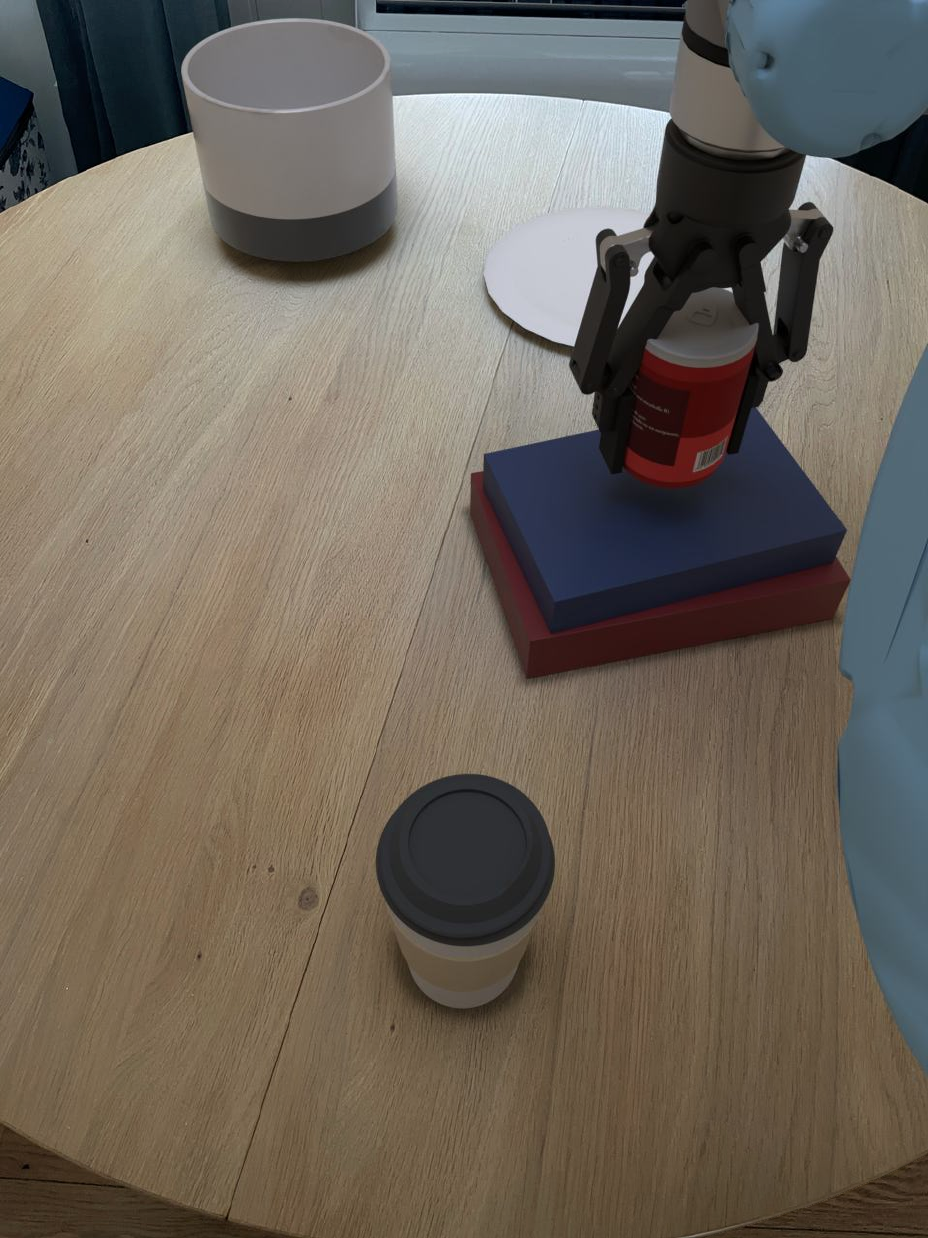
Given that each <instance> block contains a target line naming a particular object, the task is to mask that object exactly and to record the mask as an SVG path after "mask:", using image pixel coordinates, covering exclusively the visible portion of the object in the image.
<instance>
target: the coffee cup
mask: <svg viewBox="0 0 928 1238" xmlns="http://www.w3.org/2000/svg"><path fill="white" fill-rule="evenodd" d="M555 872H556V855H555V849H554V844H553V841H552V837H551V835H550V831H549V829H548V825H547V822H546V820H545V819H544V817H543V815H542V813H541V812H540V810H539V808H538V806H536V804H535V803H534V801H532V800H531V799H530V798H529V797H528V795H526V794H525V793H524V792H523V791H521V790H520V789H519V788H517V787H515V785H512V784H511V783H509V782H506V781H505V780H502V779H500V778H497V777H493V776H490V775H485V774H479V773H460V774H459V773H458V774H452V775H447V776H444V777H441V778H438V779H435V780H432V781H430V782H428V783H426V784H425V785H423V786H421V787H420V788H418V789H416V790H415V791H413V792H412V793H411V794H410V795H409V796H407V797H406V798H405V799H404V800H403V801H402V802H401V803H400V805H398V807H397V808H396V809H395V810H394V812H393V813H392V814H391V816H390V817H389V818H388V820H387V822H386V823H385V825H384V827H383V829H382V831H381V833H380V837H379V839H378V843H377V846H376V853H375V873H376V879H377V883H378V887H379V890H380V892H381V894H382V897H383V899H384V903H385V906H386V911H387V912H388V916H389V919H390V921H391V925H392V928H393V931H394V934H395V937H396V941H397V943H398V945H399V949H400V951H401V954H402V956H403V957H404V959H405V961H406V963H407V965H408V968H409V969H408V970H409V972H410V975H411V977H412V979H413V981H414V982H415V984H416V985H417V987H418V989H420V991H421V992H422V993H424V995H425V996H426V997H428V998H429V999H431V1000H432V1001H434V1002H435V1003H437V1004H439V1005H441V1006H445V1007H448V1008H453V1009H460V1010H461V1009H472V1008H478V1007H480V1006H483V1005H486V1004H488V1003H490V1002H492V1001H493V1000H495V999H497V998H498V996H500V995H502V993H504V992H505V990H506V989H507V988H508V987H509V986H510V984H511V983H512V981H513V979H514V977H515V975H516V973H517V970H518V967H519V964H520V962H521V960H522V958H523V957H524V955H525V953H526V951H527V949H528V946H529V944H530V941H531V938H532V936H533V933H534V931H535V928H536V926H537V924H538V921H539V919H540V916H541V915H542V911H543V909H544V905H545V903H546V901H547V899H548V897H549V895H550V893H551V890H552V887H553V883H554V878H555Z"/></svg>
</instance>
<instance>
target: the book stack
mask: <svg viewBox="0 0 928 1238" xmlns="http://www.w3.org/2000/svg"><path fill="white" fill-rule="evenodd" d="M600 437H601V433H600V431H599V429H598V428H597V429H594V430H589V431H585V432H581V433H575V434H571V435H566V436H561V437H556V438H551V439H547V440H543V441H537V442H533V443H529V444H524V445H519V446H515V447H514V446H513V447H509V448H506V449H501V450H496V451H491V452H485V453H483V464H482V465H483V467H482V468H483V469H482V470H481V471H476V472H471V473H470V494H469V495H470V496H469V497H470V499H469V502H470V503H469V514H470V516H471V519H472V523H473V525H474V528H475V531H476V534H477V537H478V540H479V542H480V547H481V550H482V552H483V555H484V558H485V560H486V563H487V567H488V570H489V573H490V575H491V579H492V581H493V585H494V588H495V590H496V593H497V596H498V599H499V602H500V605H501V608H502V610H503V611H502V612H503V613H504V616H505V619H506V623H507V625H508V628H509V631H510V635H511V637H512V640H513V643H514V646H515V649H516V652H517V654H518V657H519V661H520V663H521V667H522V670H523V672H524V675H525V678H526V680H528V679H533V678H537V677H543V676H548V675H552V674H559V673H563V672H568V671H574V670H579V669H582V668H589V667H594V666H599V665H604V664H609V663H614V662H618V661H619V662H620V661H624V660H629V659H634V658H640V657H644V656H651V655H655V654H660V653H665V652H670V651H674V650H681V649H685V648H691V647H695V646H700V645H705V644H710V643H715V642H721V641H726V640H731V639H736V638H741V637H745V636H747V637H748V636H751V635H757V634H762V633H767V632H772V631H777V630H782V629H786V628H792V627H798V626H802V625H808V624H812V623H818V622H822V621H828V620H833V619H834V617H835V616H836V613H837V611H838V610H839V607H840V605H841V602H842V600H843V598H844V596H845V593H846V592H847V589H848V588H849V586H850V581H851V577H850V576H849V575H848V573H847V571H846V570H845V568H844V566H843V565H842V563H841V562H840V560H839V558H838V557H837V555H838V553H839V550H840V549H841V546H842V544H843V541H844V539H845V537H846V534H847V532H848V528H846V526H845V525H844V523H843V522H842V520H841V519H840V518H839V517H838V515H837V514H836V513H835V511H834V510H833V509H832V507H831V505H830V504H829V503H828V502H827V501H826V499H825V498H824V497H823V495H822V494H821V493H820V491H819V490H818V489H817V487H816V486H815V485H814V483H813V482H812V480H811V478H809V476H808V475H807V473H805V471H804V469H803V468H802V467H801V466H800V464H799V463H798V462H797V460H796V459H795V458H794V456H793V455H792V453H790V451H789V450H788V448H787V447H786V445H785V444H784V443H783V441H782V440H781V439H780V438H779V436H778V435H777V434H776V433H775V430H773V428H772V426H771V425H770V424H769V423H768V422H767V420H766V419H765V417H764V416H763V414H761V412H760V410H759V409H758V407H756V408H751V411H750V415H749V418H748V421H747V425H746V428H745V432H744V435H743V439H742V442H741V446H740V449H739V453H736V454H730V455H728V453H727V452H726V453H725V456H724V458H723V461H722V462H721V463H720V465H719V466H718V467H717V469H716V470H715V471H714V473H713V474H712V475H711V476H710V477H708V478H707V479H706V480H704V481H702V482H700V483H699V484H696V485H693V486H690V487H684V488H663V487H657V486H653V485H650V484H647V483H645V482H642V481H640V480H638V479H637V478H635V477H634V476H632V475H631V474H630V473H629V472H628V471H627V470H626V469H625V468H624V467H623V468H622V473H617V474H611V473H610V471H609V469H608V466H607V464H606V462H605V460H604V458H603V456H602V454H601V452H600V450H599V444H600Z"/></svg>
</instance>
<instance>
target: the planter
mask: <svg viewBox="0 0 928 1238" xmlns="http://www.w3.org/2000/svg"><path fill="white" fill-rule="evenodd" d="M392 71H393V70H392V59H391V55H390V52H389V50H388V49H387V47H386V46H385V45H384V44H383V43H382V42H381V41H380V40H379V39H378V38H376V37H375V36H374V35H372V34H370V33H369V32H366V31H365V30H362V29H361V28H358V27H355V26H352V25H349V24H345V23H341V22H337V21H331V20H326V19H320V18H319V19H318V18H317V19H316V18H306V17H305V18H301V17H289V18H288V17H287V18H271V19H263V20H257V21H252V22H246V23H243V24H239V25H238V24H237V25H235V26H231V27H228V28H226V29H223V30H220V31H218V32H216V33H213V34H211V35H210V36H207V37H206V38H204V39H203V40H201V41H199V42H198V43H197V44H195V45H194V46H193V47H192V48H191V49H190V50H189V51H188V52H187V54H186V55H185V57H184V59H183V60H182V63H181V70H180V73H181V77H182V78H181V80H182V84H183V89H184V94H185V100H186V104H187V110H188V113H189V119H190V125H191V129H192V135H193V139H194V144H195V149H196V154H197V159H198V165H199V169H200V175H201V179H202V186H203V191H204V195H205V201H206V206H207V209H208V210H207V211H208V217H209V220H210V224H211V226H212V228H213V230H214V232H215V233H216V234H217V235H218V237H219V238H220V239H221V240H222V241H223V242H224V243H226V244H227V245H229V246H230V247H232V248H234V249H236V250H238V251H240V252H242V253H244V254H246V255H247V254H248V255H250V256H254V257H257V258H261V259H265V260H270V261H280V262H293V263H294V262H313V261H315V262H316V261H321V260H322V261H323V260H327V259H332V258H337V257H342V256H344V255H347V254H351V253H354V252H356V251H359V250H360V249H363V248H365V247H367V246H369V245H370V244H372V243H374V242H376V241H377V240H378V239H379V238H381V237H383V235H384V234H385V233H386V232H387V231H389V229H390V228H391V226H392V225H393V223H394V222H395V219H396V217H397V214H398V185H397V184H398V183H397V164H396V162H397V161H396V141H395V139H396V137H395V117H394V95H393V94H394V93H393V92H394V91H393V73H392Z"/></svg>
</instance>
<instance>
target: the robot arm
mask: <svg viewBox="0 0 928 1238" xmlns="http://www.w3.org/2000/svg"><path fill="white" fill-rule="evenodd" d="M682 22H683V23H682V28H681V32H680V37H679V44H678V50H677V56H676V60H675V61H676V62H675V68H674V74H673V81H672V87H671V92H670V99H669V105H668V111H669V116H670V117H671V118H670V119H669V120H668V121H667V123H666V125H665V129H664V133H663V134H664V135H663V141H662V147H661V152H660V158H659V159H660V160H659V166H658V172H657V178H656V187H655V189H656V190H655V202H654V206H653V208H652V210H651V212H650V213H651V214H650V215H649V217H648V218H647V220H646V221H645V223H644V226H643V228H642V229H639V230H636V231H632V232H629V233H626V234H622V235H619V236H617V235H616V233H615V232H614V231H613V230H612V229H604V230H602V231H600V232H599V233H598V235H597V237H596V253H597V270H596V273H595V276H594V280H593V283H592V287H591V290H590V294H589V297H588V300H587V304H586V307H585V311H584V314H583V318H582V321H581V324H580V328H579V331H578V335H577V338H576V341H575V345H574V348H572V352H571V355H570V358H569V362H568V368H569V370H570V371H571V374H572V376H573V378H574V381H575V382H576V385H577V387H578V388H579V390H580V393H581V394H583V395H586V396H588V395H592V394H594V395H593V403H592V410H591V415H592V418H593V421H594V423H595V425H596V426H597V430H598V429H599V431H600V433H601V437H600V444H599V450H600V452H601V454H602V456H603V458H604V460H605V462H606V464H607V466H608V469H609V471H610V473H611V474H617V473H622V468H623V463H624V457H625V451H626V445H627V440H628V434H629V428H630V422H631V417H632V411H633V405H634V399H635V397H634V395H633V394H632V392H631V390H630V388H629V386H628V385H629V383H630V382H631V380H632V378H633V377H634V375H635V374H636V372H637V370H638V369H639V367H640V366H641V364H642V361H643V356H644V351H645V347H646V345H647V340H649V339H656V340H657V338H658V337H659V335H660V334H661V332H662V330H663V329H664V327H665V326H666V324H667V322H668V321H669V319H670V318H671V316H672V314H673V313H674V312H675V311H680V310H681V309H682V308H683V307H684V305H685V303H686V302H687V300H688V299H689V297H690V295H691V294H692V293H696V292H701V291H703V290H706V289H709V288H712V287H715V288H731V287H732V292H733V296H734V300H735V304H736V305H737V307H738V308H739V310H740V311H741V313H742V314H743V316H744V317H745V319H746V320H747V321H748V323H749V324H750V325H752V324H755V323H758V324H759V327H758V334H757V341H756V345H755V348H754V353H753V357H752V361H751V364H750V368H749V371H748V375H747V378H746V382H745V385H744V389H743V392H742V396H741V400H740V403H739V407H738V410H737V414H736V417H735V421H734V424H733V428H732V432H731V435H730V439H729V442H728V446H727V449H726V452H727V453H728V455H730V454H736V453H739V449H740V446H741V442H742V439H743V435H744V432H745V428H746V425H747V421H748V418H749V415H750V411H751V408H759V407H760V406H761V405H762V403H763V402H764V399H765V394H766V392H767V389H768V384H769V383H773V382H776V381H777V380H779V379H780V378H781V377H782V375H783V374H784V369H783V367H782V366H781V363H784V362H786V361H790V363H798V362H799V361H801V360H802V359H804V358H805V356H806V355H807V351H808V346H809V345H808V344H809V339H810V331H811V324H812V319H813V311H814V303H815V296H816V289H817V281H818V275H819V268H820V261H821V258H822V257H823V255H824V253H825V250H826V248H827V246H828V244H829V242H830V241H831V238H832V236H833V233H834V226H833V225H832V224H831V223H830V221H829V220H828V219H827V218H826V216H825V214H824V213H822V211H821V210H820V209H819V208H818V207H817V206H816V204H815V203H814V202H811V201H807V202H804V203H802V204H801V205H800V206H798V208H797V209H790V208H791V207H792V205H793V203H794V201H795V198H796V195H797V191H798V187H799V183H800V181H801V176H802V173H803V170H804V166H805V162H806V159H807V156H808V157H813V158H822V159H823V158H824V159H838V158H844V157H850V156H853V155H854V154H857V153H859V152H860V151H864V150H866V149H870V148H873V147H874V146H876V145H878V144H880V143H883V142H887V141H889V140H892V139H894V138H895V137H896V136H898V135H899V134H901V133H902V132H904V131H905V130H907V129H908V128H909V127H910V126H911V125H912V124H913V123H915V122H916V121H917V120H919V118H920V117H921V116H922V115H925V116H926V115H927V116H928V0H686V7H685V13H684V17H683V21H682ZM781 241H783V244H782V249H781V259H780V267H779V268H780V269H779V276H778V277H779V278H778V286H777V295H776V305H775V314H774V324H773V329H772V323H771V319H770V314H769V311H768V305H767V304H768V303H767V300H766V294H765V293H766V292H767V287H766V282H765V277H764V271H763V266H762V261H763V260H764V259H765V258H766V257H767V256H768V255H769V254H770V253H771V252H772V251H773V250H774V248H775V247H776V246H777V245H778V244H779V243H780V242H781ZM648 252H652V254H653V255H654V258H653V260H652V261H651V263H650V265H649V266H648V268H647V270H646V272H645V275H644V284H643V286H642V288H641V290H640V291H639V293H638V295H637V296H636V298H635V300H634V302H633V303H632V305H631V307H630V308H629V310H628V312H627V313H626V315H625V317H624V319H623V320H622V322H621V324H620V325H619V322H620V319H621V316H622V313H623V310H624V307H625V304H626V301H627V298H628V294H629V290H630V280H631V277H634V276H636V275H637V274H638V272H639V271H638V267H639V263H640V260H641V258H642V257H643V256H644V255H645V254H646V253H648ZM618 325H619V327H618ZM875 475H876V476H875V478H874V481H873V485H872V489H871V492H870V495H869V499H868V503H867V506H866V509H865V510H866V511H865V514H864V519H863V522H862V526H861V530H860V534H859V539H858V545H857V547H856V553H855V558H854V563H853V569H852V573H851V577H850V579H851V581H850V583H849V585H848V591H847V596H846V603H845V610H844V613H843V622H842V629H841V637H840V648H839V656H838V657H839V658H838V666H837V668H838V670H839V672H840V675H841V677H843V678H844V679H846V680H848V681H850V682H852V686H853V694H852V701H851V709H850V714H849V717H848V721H847V724H846V727H845V729H844V731H843V733H842V734H841V736H840V737H839V739H838V741H837V749H836V775H835V789H836V799H837V807H838V815H839V832H840V837H841V838H840V839H841V846H842V847H841V848H842V852H843V853H842V854H843V861H844V866H845V867H844V868H845V871H846V877H847V882H848V887H849V888H848V889H849V893H850V898H851V901H852V905H853V908H854V913H855V915H856V918H857V919H856V920H857V921H858V922H857V923H858V926H859V930H860V933H861V937H862V941H863V943H864V947H865V950H866V953H867V956H868V960H869V963H870V965H871V969H872V973H873V975H874V977H875V979H876V982H877V985H878V987H879V990H880V992H881V993H882V994H881V995H882V997H883V999H884V1001H885V1003H886V1006H887V1008H888V1010H889V1012H890V1014H891V1017H892V1018H893V1019H894V1022H895V1024H896V1027H897V1029H898V1030H899V1032H900V1035H901V1036H902V1038H903V1040H904V1042H905V1044H906V1046H907V1047H908V1049H909V1051H910V1052H911V1054H912V1055H913V1057H914V1059H915V1060H916V1062H917V1063H918V1065H919V1067H920V1068H921V1070H922V1071H923V1073H924V1075H925V1077H926V1078H927V1079H928V342H927V343H926V345H925V347H924V349H923V352H922V354H921V356H920V358H919V361H918V363H917V365H916V367H915V369H914V372H913V374H912V377H911V379H910V381H909V384H908V386H907V389H906V391H905V394H904V396H903V399H902V401H901V404H900V406H899V409H898V411H897V414H896V417H895V419H894V422H893V425H892V428H891V430H890V434H889V437H888V440H887V443H886V446H885V450H884V452H883V456H882V457H881V461H880V465H879V467H878V469H877V473H876V474H875Z"/></svg>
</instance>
